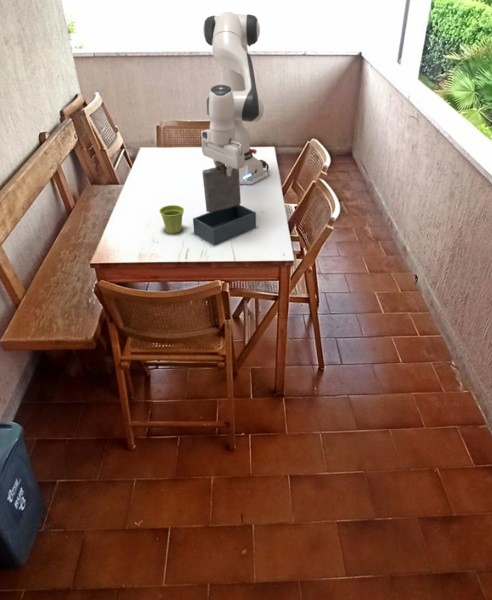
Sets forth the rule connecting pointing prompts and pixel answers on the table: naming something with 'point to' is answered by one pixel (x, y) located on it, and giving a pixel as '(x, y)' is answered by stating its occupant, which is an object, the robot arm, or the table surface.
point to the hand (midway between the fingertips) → (223, 173)
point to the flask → (221, 188)
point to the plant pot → (172, 218)
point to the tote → (224, 224)
